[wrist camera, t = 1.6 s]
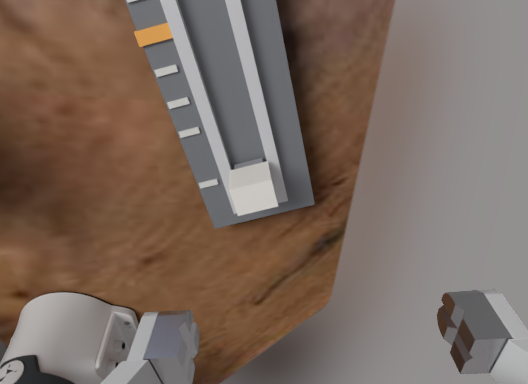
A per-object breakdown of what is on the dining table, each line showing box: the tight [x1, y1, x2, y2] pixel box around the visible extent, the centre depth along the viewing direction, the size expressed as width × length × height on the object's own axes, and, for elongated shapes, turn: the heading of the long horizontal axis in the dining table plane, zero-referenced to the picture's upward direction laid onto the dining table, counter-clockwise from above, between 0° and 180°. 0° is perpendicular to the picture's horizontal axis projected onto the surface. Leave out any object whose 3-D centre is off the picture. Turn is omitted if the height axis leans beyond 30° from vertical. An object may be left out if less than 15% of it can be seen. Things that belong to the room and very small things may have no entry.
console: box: [125, 0, 315, 229], centre depth 32 cm, size 30×12×4 cm, turn 13°
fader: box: [229, 158, 278, 216], centre depth 34 cm, size 3×4×5 cm
